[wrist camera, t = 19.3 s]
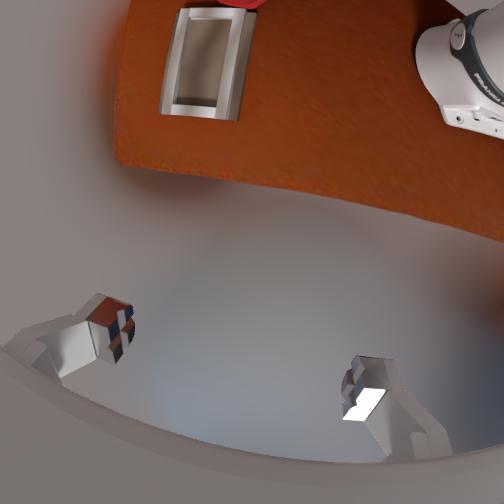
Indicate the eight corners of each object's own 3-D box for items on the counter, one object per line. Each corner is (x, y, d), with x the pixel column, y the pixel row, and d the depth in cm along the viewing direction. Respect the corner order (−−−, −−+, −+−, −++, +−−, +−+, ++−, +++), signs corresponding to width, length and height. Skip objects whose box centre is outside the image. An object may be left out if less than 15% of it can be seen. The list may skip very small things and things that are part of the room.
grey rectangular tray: (257, 15, 31) (254, 9, 29) (238, 121, 38) (234, 120, 36) (180, 14, 32) (173, 9, 29) (161, 113, 39) (153, 113, 37)
